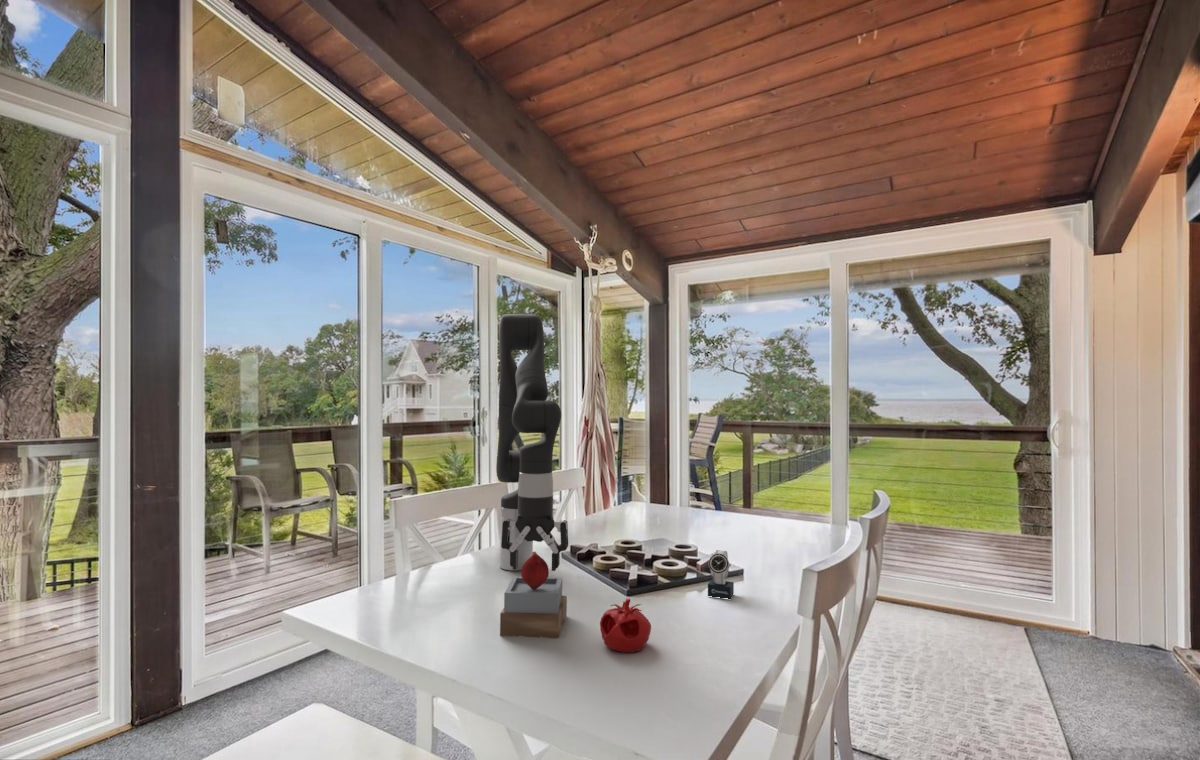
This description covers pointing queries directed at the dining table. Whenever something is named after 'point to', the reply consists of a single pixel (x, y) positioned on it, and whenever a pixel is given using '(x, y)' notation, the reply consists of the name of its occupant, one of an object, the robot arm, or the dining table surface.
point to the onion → (534, 571)
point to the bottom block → (534, 623)
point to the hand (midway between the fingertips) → (534, 569)
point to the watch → (720, 576)
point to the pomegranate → (625, 628)
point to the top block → (533, 596)
